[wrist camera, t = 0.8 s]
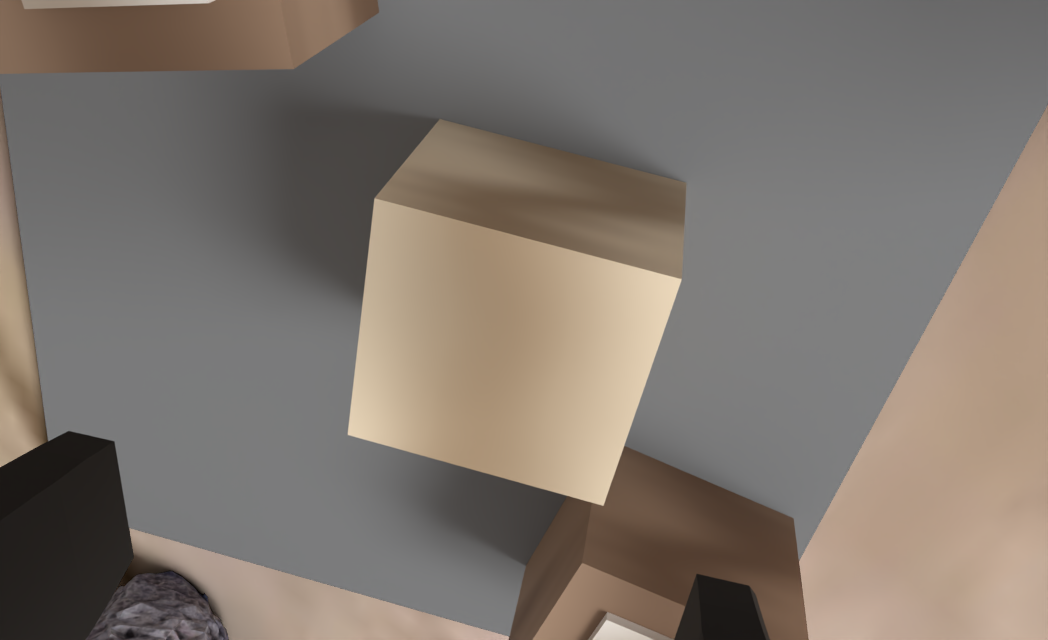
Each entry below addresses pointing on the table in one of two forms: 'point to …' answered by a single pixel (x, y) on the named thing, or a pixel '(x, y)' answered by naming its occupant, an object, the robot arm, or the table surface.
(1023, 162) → the table surface
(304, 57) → the walnut block
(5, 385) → the table surface
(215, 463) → the slate mat
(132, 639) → the pumice stone
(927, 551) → the table surface
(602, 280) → the plain block
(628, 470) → the walnut block
